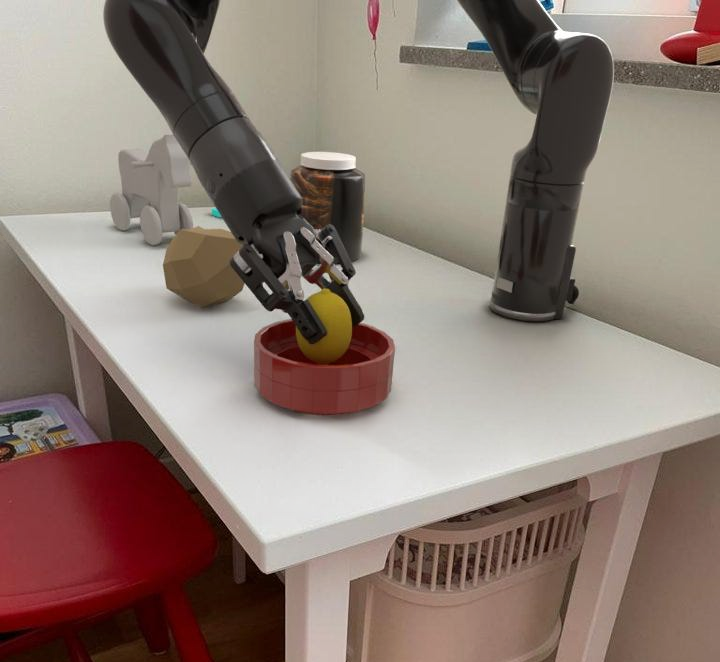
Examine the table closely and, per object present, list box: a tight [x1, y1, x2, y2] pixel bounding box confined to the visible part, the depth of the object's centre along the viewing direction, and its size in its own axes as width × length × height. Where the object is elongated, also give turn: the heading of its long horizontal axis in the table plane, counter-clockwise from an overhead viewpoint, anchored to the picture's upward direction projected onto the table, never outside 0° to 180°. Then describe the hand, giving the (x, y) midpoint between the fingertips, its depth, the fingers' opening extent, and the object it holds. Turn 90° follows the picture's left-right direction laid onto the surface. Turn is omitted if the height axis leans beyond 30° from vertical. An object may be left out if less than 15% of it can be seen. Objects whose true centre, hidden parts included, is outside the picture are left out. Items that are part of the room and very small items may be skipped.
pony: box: [109, 134, 194, 247], centre depth 124 cm, size 20×10×17 cm, turn 40°
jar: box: [289, 151, 366, 264], centre depth 121 cm, size 12×12×15 cm
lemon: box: [296, 289, 352, 365], centre depth 76 cm, size 6×6×8 cm
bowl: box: [253, 318, 396, 416], centre depth 78 cm, size 14×14×6 cm
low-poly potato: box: [162, 225, 246, 308], centre depth 100 cm, size 15×11×12 cm
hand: (338, 331), depth 75 cm, fingers closed on lemon, 5 cm apart
